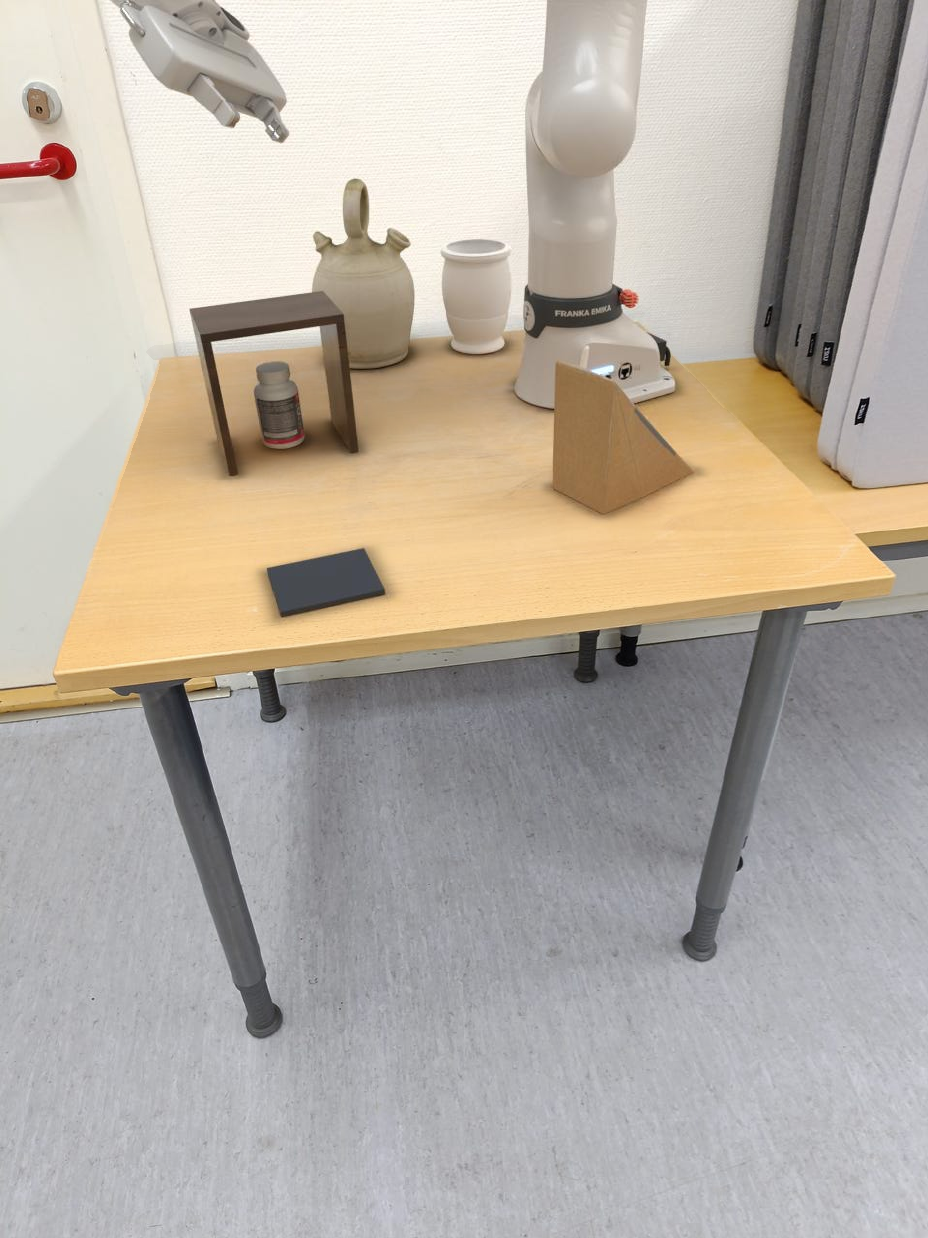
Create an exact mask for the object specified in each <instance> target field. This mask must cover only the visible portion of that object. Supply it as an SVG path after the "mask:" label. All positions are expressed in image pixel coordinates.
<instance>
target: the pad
mask: <svg viewBox="0 0 928 1238" xmlns="http://www.w3.org/2000/svg"><path fill="white" fill-rule="evenodd" d="M266 572H267V576H268V578H269V579H268V580H269V582H270V585H271V589H272V591H273V595H274V598H275V602H276V604H277V608H278V610H279V614H280V617H282V618H283V617H287V616H288V617H289V616H291V615H297V614H300V613H305V612H310V611H314V610H319V609H325V608H328V607H332V606H336V605H337V606H338V605H342V604H346V603H350V602H354V601H359V600H363V599H369V598H372V597H378V596H383V595H385V594H386V589H385V587H384V585H383V583H382V581H381V579H380V577H379V574H378V573H377V571H376V569H375V567H374V565H373V563H372V561H371V559H370V557H369V555H368V553H367V551H366V549H365V547H362V548H357V549H352V550H348V551H343V552H338V553H333V554H328V555H323V556H317V557H313V558H309V559H304V560H298V561H295V562H289V563H285V564H284V563H283V564H280V565H275V566H270V567H266Z"/></svg>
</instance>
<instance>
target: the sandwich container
mask: <svg viewBox="0 0 928 1238" xmlns="http://www.w3.org/2000/svg"><path fill="white" fill-rule="evenodd" d="M552 440H553V441H552V442H553V445H552V489H554V490H555V491H557V492H559V493H561V494H563V495H565V496H566V497H569V498H571V499H572V500H575V501H577V502H578V503H580V504H582V505H584V506H586V507H588V508H589V509H592V510H594V511H596V512H598V513H600V514H602V515H605V514H608V513H610V512H613V511H615V510H617V509H619V508H622V507H624V506H626V505H628V504H631V503H632V502H636V501H638V500H639V499H642V498H644V497H647V496H649V495H650V494H652V493H655V492H656V491H659V490H660V489H662V488H664V487H667V486H668V485H670V484H672V483H675V482H676V481H679V480H680V479H683V478H685V477H687V476H689V475H691V474H693V473H695V471H694V470H693V469H692V467H691V466H689V465H688V463H687V462H686V461H685V460H684V459H683V457H681V455H680V454H678V453H677V451H676V450H675V449H674V448H673V447H672V445H670V443H668V441H667V440H666V439H665V438H664V437H663V436H662V434H661V433H660V432H659V431H658V430H657V429H656V428H655V426H654V425H653V424H652V423H651V422H650V421H649V420H648V419H647V418H646V417H645V416H644V414H643V413H642V412H641V411H640V410H639V408H638V407H637V406H636V405H635V403H634V404H633V402H632V401H631V400H630V399H629V398H628V396H627V395H626V394H625V393H624V392H623V390H622V389H621V388H620V387H619V386H618V384H617V383H616V382H615V381H614V380H612V379H609V378H607V377H605V376H602V375H600V374H597V373H595V372H593V371H590V370H588V369H585V368H582V367H579V366H575V365H572V364H569V363H566V362H563V361H559V360H558V361H557V362H556V365H555V401H554V409H553V439H552Z"/></svg>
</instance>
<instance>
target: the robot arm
mask: <svg viewBox="0 0 928 1238" xmlns="http://www.w3.org/2000/svg"><path fill="white" fill-rule="evenodd" d="M109 1H110V2H111V3H112V4H113V5H115V6H116V7H118V8H119V13H120V15H121V17H122V18H123V19H124V20H125V22H126V23H127V24H128V26H129V27H130V29H129V30H128V37H129V39H130V41H131V44H132V45H133V47H134V49H135V50H136V51H137V54H139V57H140V58H141V59H142V61H143V63H144V64H145V66H146V67H147V68H148V70H149V71H150V72H151V74H152V75H153V77H154V78H155V80H157V81H158V82H159V83H160V84H161V85H162V86H164V87H165V88H166V89H169V90H171V91H175V92H176V93H177V92H178V93H181V94H182V95H187V96H189V97H192V98H194V100H195V101H196V102H198V103H199V104H200V105H201V106H202V107H203V108H205V109H206V110H207V111H208V112H209V113H211V114H212V115H213V116H214V118H215V119H216V120H217V122H219V124H220V126H222V127H225V128H229V129H234V128H235V127H236V125H237V124H238V123H239V122H240V119H241V115H240V114H243V115H246V116H248V117H252V118H255V119H258V120H259V121H260V122H262V123H263V125H264V126H265V129H264V131H265V133H266V134H267V135H268V136H269V137H270V138H269V139H271V141H272V142H275V143H278V144H283V143H284V142H285V141H286V140H287V139H288V137H289V136H290V131H289V129H288V127H287V126H286V125H285V123H284V121H282V118H281V112H282V111H283V109H284V108H285V106H286V105H287V103H288V99H287V95H286V92H285V90H284V88H283V86H282V85H281V83H280V81H279V80H278V79H277V77H276V75H275V74H274V73H273V71H272V70H271V68H270V66H269V65H268V64H267V62H266V61H265V59H264V58H263V56H262V55H261V53H259V51H258V50H257V49H256V47H255V46H253V45H252V43H251V42H249V39H250V37H251V34H250V32H249V31H248V29H247V28H246V26H245V25H244V24H243V23H242V21H240V20H239V19H237V18H236V17H235V16H234V15H233V14H231V13H230V12H229V11H228V10H227V9H226V8H224V7H222V6H221V5H220V4H219V3H218V2H217V1H216V0H109ZM647 6H648V0H546V12H545V13H546V14H545V16H546V17H545V30H544V31H545V32H544V34H545V35H544V45H543V58H542V59H543V60H542V71H541V72H539V74H538V75H537V76H536V78H535V79H534V81H533V82H532V84H531V86H530V88H529V90H528V94H527V97H526V100H525V109H524V128H525V129H524V131H525V132H524V135H525V137H524V139H525V170H526V171H525V172H526V195H527V196H526V197H527V216H528V234H527V235H528V237H527V238H528V240H527V241H528V242H527V243H528V245H527V283H526V285H525V286H524V290H523V291H524V293H523V305H522V306H523V308H522V320H523V321H522V322H523V329H524V340H523V341H524V342H523V348H522V355H521V359H520V365H519V370H518V375H517V377H516V381H515V384H514V387H513V391H514V393H515V395H516V396H517V397H518V398H520V399H521V400H523V401H524V402H527V403H529V404H531V405H534V406H538V407H542V408H546V409H553V410H554V401H555V365H556V362H557V361H558V360H559V361H563V362H566V363H569V364H572V365H575V366H579V367H582V368H585V369H588V370H590V371H593V372H595V373H597V374H600V375H602V376H605V377H607V378H609V379H612V380H614V381H615V382H616V383H617V384H618V386H619V387H620V388H621V389H622V390H623V392H624V393H625V394H626V395H627V396H628V398H629V399H630V400H631V401H632V402H633V404H634V405H635V404H637V403H640V402H644V401H648V400H652V399H654V398H658V397H661V396H664V395H669V394H672V393H674V392H675V391H676V381H675V378H674V377H673V375H672V374H671V373H670V372H669V371H667V370H666V368H664V367H669V366H670V365H671V357H672V353H671V350H670V348H669V347H668V346H667V344H668V343H667V342H668V341H667V340H665V339H663V338H661V337H659V336H657V335H655V334H652V333H650V332H648V331H647V330H645V329H644V328H642V327H641V326H640V325H639V324H637V323H636V322H635V321H634V320H633V319H632V318H630V317H629V316H628V315H627V314H625V313H624V312H623V307H622V305H623V306H625V307H626V308H628V309H633V308H635V307H636V306H637V304H638V303H639V295H638V293H637V292H635V291H632V290H631V289H627V288H626V289H623V288H621V287H619V285H616V284H614V283H613V280H614V266H615V253H616V239H617V238H616V237H617V225H618V221H617V220H618V219H617V213H616V200H615V179H614V177H615V176H614V169H615V168H617V167H618V166H619V165H620V164H621V163H622V162H623V161H624V160H625V158H626V157H627V155H628V154H629V152H630V151H631V148H632V147H633V144H634V141H635V136H636V133H637V108H638V100H639V92H640V84H641V74H642V73H641V72H642V66H643V65H642V63H643V52H644V38H645V24H646V13H647ZM661 362H664V367H663V366H661Z"/></svg>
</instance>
